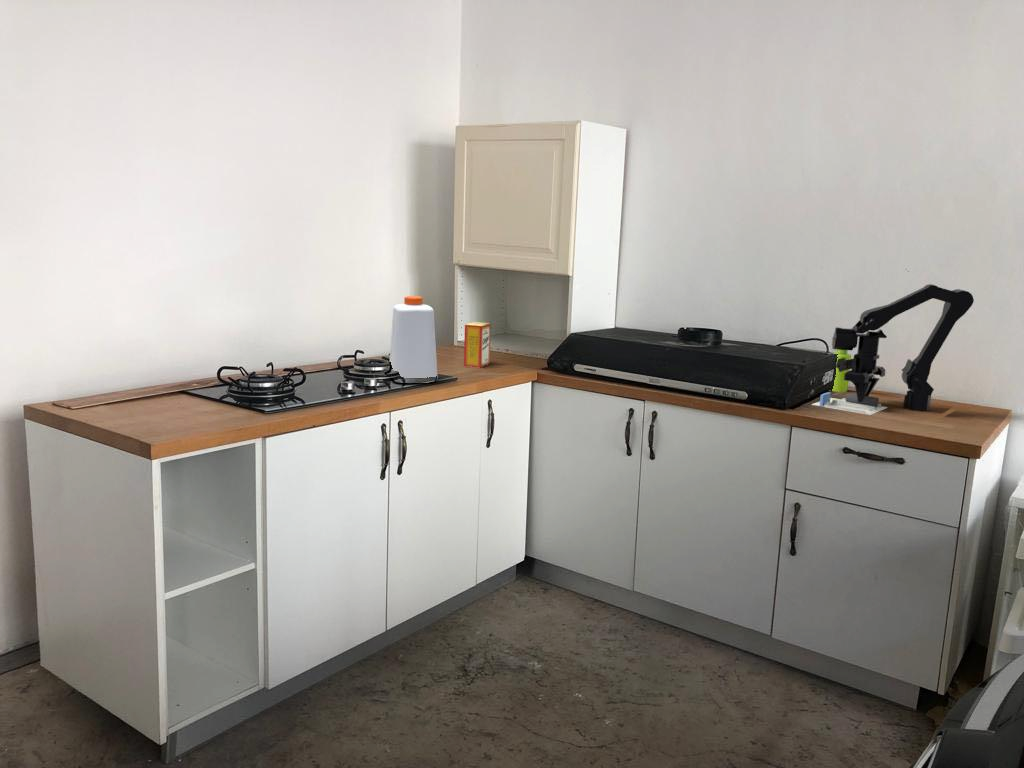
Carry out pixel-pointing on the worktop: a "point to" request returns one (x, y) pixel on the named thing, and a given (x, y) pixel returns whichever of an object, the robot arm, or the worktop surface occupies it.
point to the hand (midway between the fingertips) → (862, 401)
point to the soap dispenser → (841, 373)
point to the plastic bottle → (413, 339)
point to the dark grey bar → (866, 401)
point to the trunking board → (846, 405)
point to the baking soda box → (477, 344)
